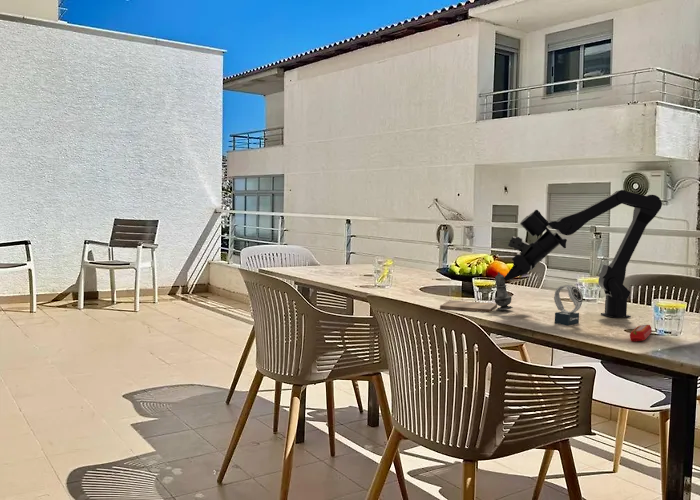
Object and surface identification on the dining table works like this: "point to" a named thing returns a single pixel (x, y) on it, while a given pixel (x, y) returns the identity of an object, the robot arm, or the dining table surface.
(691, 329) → the dining table surface
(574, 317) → the watch
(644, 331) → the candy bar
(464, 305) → the walnut board
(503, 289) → the dark grey tall piece
